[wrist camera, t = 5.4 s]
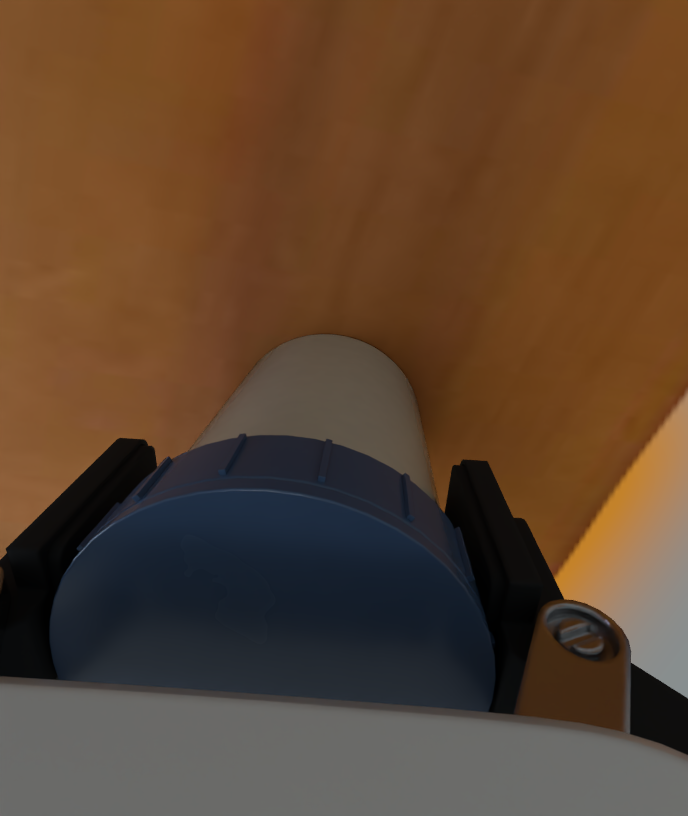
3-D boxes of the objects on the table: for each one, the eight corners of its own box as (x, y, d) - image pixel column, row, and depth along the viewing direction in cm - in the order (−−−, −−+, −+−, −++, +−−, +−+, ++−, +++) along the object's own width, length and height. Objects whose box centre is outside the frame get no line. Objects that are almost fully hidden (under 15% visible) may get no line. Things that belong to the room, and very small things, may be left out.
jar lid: (506, 447, 8) (540, 507, 6) (449, 741, 10) (463, 835, 9) (74, 418, 8) (0, 469, 6) (127, 712, 11) (85, 799, 9)
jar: (417, 501, 18) (458, 778, 9) (248, 501, 18) (132, 765, 10) (421, 331, 16) (480, 485, 7) (226, 336, 16) (45, 486, 7)
